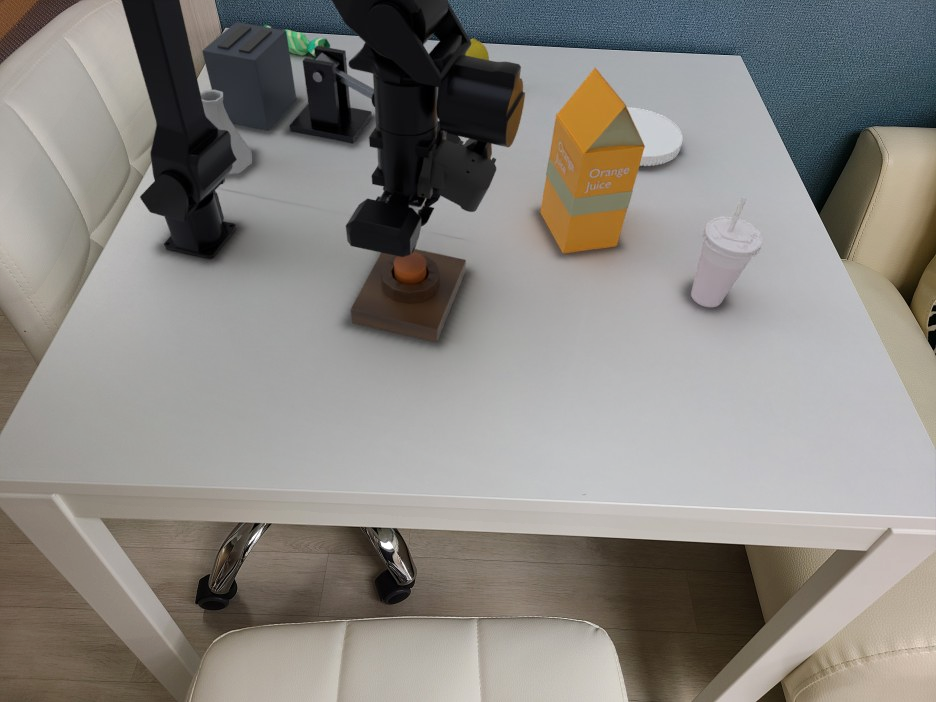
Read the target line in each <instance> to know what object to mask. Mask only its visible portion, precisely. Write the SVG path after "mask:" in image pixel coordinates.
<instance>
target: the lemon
mask: <svg viewBox="0 0 936 702" xmlns="http://www.w3.org/2000/svg"><path fill="white" fill-rule="evenodd" d="M470 41H471V47H470V48H469V49H468V51H467V52H466V56H471V57H475V58H480V59H485V60H490V56H489V51H488V50H487V48H486V46H485V44H484V43H482V42H481V41H480V40H477V39H476V38H471V39H470Z"/></svg>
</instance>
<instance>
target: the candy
mask: <svg viewBox="0 0 936 702" xmlns="http://www.w3.org/2000/svg"><path fill="white" fill-rule="evenodd" d="M263 27H269V28H272V27H271V26H270V25H268V24H267V23H265V24H264V25H263ZM284 30H286V32H287V39H288V46H289V52H290V54H292V55H297V56H300V57H301V56H302V57H304V56H306V55H307V54H308V53H310V54H311V55H312V56H313V57H314V58H315V51H314V48H315V47H316V46H322V47H328V48H331V44H330V42H329V41H328V39H327V38H323V37H316V38H314V39H312V40H309V38H308V37H307V36H306V34H305V33H303V32H299V31H294V30H290V29H284Z"/></svg>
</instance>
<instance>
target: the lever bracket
mask: <svg viewBox="0 0 936 702" xmlns="http://www.w3.org/2000/svg"><path fill="white" fill-rule="evenodd" d="M314 51H315V57H314V58H308V57H304V59H303V60H302V66H303V72H304V73H303V74H304V82H305V88H306V89H305V90H306V95H307V96H306V98H307V104H306V105H305V107H304V108H303V109H302V110H301V111H300V112H299V114H298V115H297V116H296V117H295V118H294V119H293V121H292V122H291V123H290V124H289V131H290V132H292V133H297V134H301V135H307V136H313V137H318V138H322V139H328V140H332V141H333V140H334V141H338V142H343V143H348V144H354V143H355V142H356V140H357V139H358V137H359V136H360V135H361V133H362V132H363V130H364V129H365V128H366V126H367V125H368V123H369V122H370V121H371V120H372V118H373V116H372V115H373V114H372V111H371V110H366V109H362V108H361V109H360V108H355V107H351V99H350V89H349V88H350V87H349V86H347V85H345V84H343V83H342V82H340V81H338V80H336V71H335V63H332V62H326V61H321V60H315V59H316V58H317V57H318V56H319V55H320V54H321V53H323V54H325V55H327V56H329V57H330V58H332V59H334V60H336V61H338V62H339V66H338V69H339V70H341V71H342V72H344V73H346V74H348V66H347V65H348V64H347V52H346V50H344V49H338V48H332V47H330V48H328V47H322V46H316V47H315V48H314Z"/></svg>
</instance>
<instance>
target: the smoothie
mask: <svg viewBox="0 0 936 702" xmlns="http://www.w3.org/2000/svg"><path fill="white" fill-rule="evenodd" d="M746 201H747V198H746V197H741V198H740V199H739V202H738V204H737V206H736V209H735V211H734V214H733V216H717V217H714V218H711V219H710V220H709V221H708V222H707V223H706V224H705V228H704V229H703V231H702V239H703V241H702V245H701V249H700V253H699V258H698V261H697V266H696V270H695V275H694V278H693V283H692V287H691V292H690V296H691V298H692V300H693V301H694V302H695V303H696V304H697V305H700V306H701V307H704V308H716V307H719V306H720V305H721V304H722V302H723V301H724V299H725V298H726V296H727V295H728V293H729V292H730V290H731V289H732V288H733V286H734V285H735V283H736V282H737V280H738V279H739V278H740V276H741V274H743V271H744V270H745V268H746V267H747V265H748V264H749V263H750V261H751V259H752V258H753V257H755V256H757V255H758V254H759V253H760V251H761V249H762V246H763V243H764V238H763V235H762V233H761V231H760V230H759V229H758V228H757V227H755V225H753V224H752V223H750V222H748V221H747V220H744V219H741V218H739V217H740V216H741V213H742V211H743V208H744V207H745V204H746Z"/></svg>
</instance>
